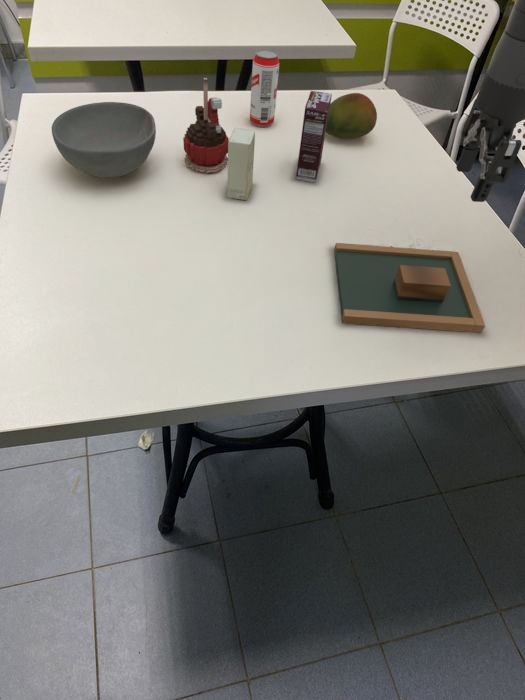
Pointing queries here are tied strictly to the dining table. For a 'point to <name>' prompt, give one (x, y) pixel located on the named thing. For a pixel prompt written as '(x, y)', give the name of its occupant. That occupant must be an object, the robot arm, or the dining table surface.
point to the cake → (206, 137)
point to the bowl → (105, 137)
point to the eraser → (421, 283)
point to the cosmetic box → (240, 163)
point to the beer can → (264, 87)
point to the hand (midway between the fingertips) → (469, 184)
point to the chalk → (75, 485)
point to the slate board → (380, 296)
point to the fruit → (351, 116)
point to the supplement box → (313, 135)
